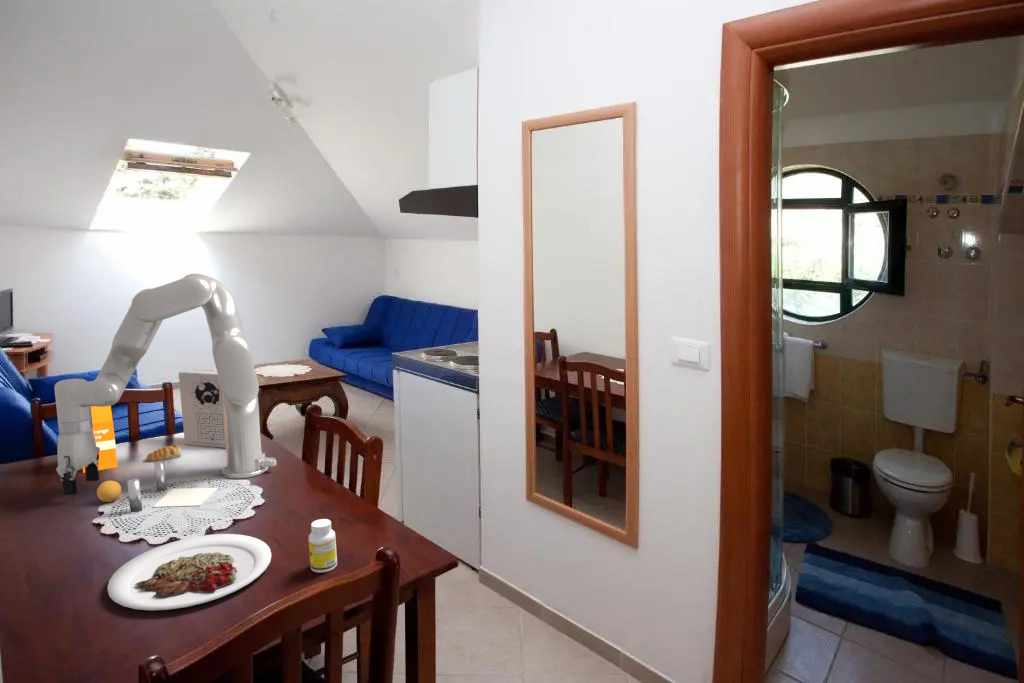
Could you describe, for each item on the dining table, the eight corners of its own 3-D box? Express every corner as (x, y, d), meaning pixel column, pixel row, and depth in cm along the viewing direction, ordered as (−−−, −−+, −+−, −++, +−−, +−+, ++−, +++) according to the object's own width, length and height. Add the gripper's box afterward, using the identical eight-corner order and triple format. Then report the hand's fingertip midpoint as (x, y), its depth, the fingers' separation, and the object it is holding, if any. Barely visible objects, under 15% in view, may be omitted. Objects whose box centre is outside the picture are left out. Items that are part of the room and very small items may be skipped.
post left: (144, 508, 164) (141, 478, 163) (139, 512, 162) (135, 482, 161) (133, 508, 164) (130, 478, 163) (128, 513, 162) (125, 482, 160)
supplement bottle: (313, 561, 137) (310, 517, 135) (339, 560, 137) (337, 516, 136) (307, 574, 132) (304, 529, 130) (334, 572, 132) (332, 527, 131)
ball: (126, 496, 172) (124, 477, 171) (115, 505, 167) (113, 484, 166) (105, 497, 172) (103, 477, 171) (93, 505, 166) (91, 485, 165)
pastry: (149, 465, 197) (148, 453, 197) (144, 459, 202) (143, 448, 202) (183, 458, 203) (182, 446, 203) (177, 453, 208) (176, 441, 208)
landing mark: (218, 488, 178) (218, 487, 177) (200, 506, 166) (199, 505, 166) (173, 489, 177) (173, 488, 177) (152, 507, 165) (151, 506, 165)
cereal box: (255, 442, 218) (249, 370, 214) (240, 449, 211) (235, 374, 207) (200, 438, 223) (194, 367, 219) (184, 444, 216) (177, 371, 212)
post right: (168, 488, 178) (166, 460, 177) (164, 491, 175) (161, 463, 174) (159, 488, 178) (156, 460, 176) (154, 492, 175) (151, 464, 174)
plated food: (163, 541, 147) (162, 527, 147) (293, 542, 146) (292, 528, 146) (71, 616, 118) (69, 599, 117) (232, 618, 117) (231, 601, 116)
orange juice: (117, 467, 195) (111, 402, 192) (82, 472, 190) (75, 407, 187) (116, 459, 201) (109, 397, 198) (82, 465, 196) (75, 401, 193)
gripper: (80, 417, 179) (86, 476, 181) (39, 435, 162) (46, 500, 164) (108, 416, 179) (114, 475, 182) (70, 435, 162) (77, 499, 165)
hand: (82, 487), depth 173 cm, fingers open, 9 cm apart
